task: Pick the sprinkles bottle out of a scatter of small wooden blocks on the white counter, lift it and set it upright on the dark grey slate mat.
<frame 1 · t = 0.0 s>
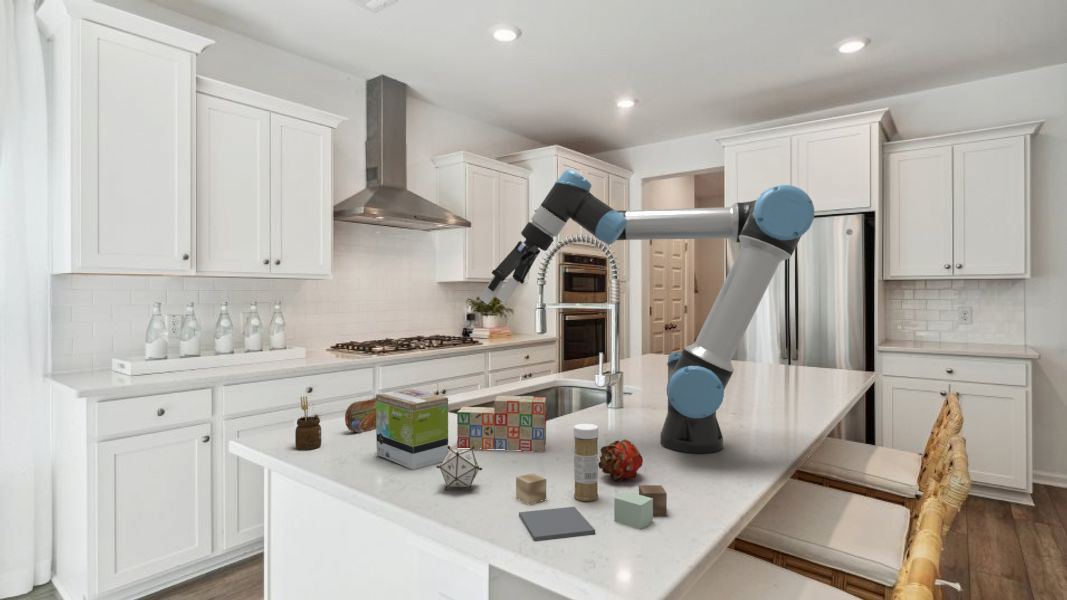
hand: (492, 300, 139), 36 cm above the counter, tool tilted 35°, fingers open, 13 cm apart
tin: (369, 429, 156), on the counter
sprinkles bottle: (585, 498, 105), on the counter
slate mat: (555, 524, 93), on the counter
oak block: (531, 499, 104), on the counter
stack of blocks: (502, 448, 139), on the counter
tea box: (411, 459, 129), on the counter
sage painted block: (633, 521, 94), on the counter
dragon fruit: (620, 478, 117), on the counter
game die: (459, 489, 110), on the counter
walnut block: (652, 512, 99), on the counter
utensil holder: (308, 447, 138), on the counter
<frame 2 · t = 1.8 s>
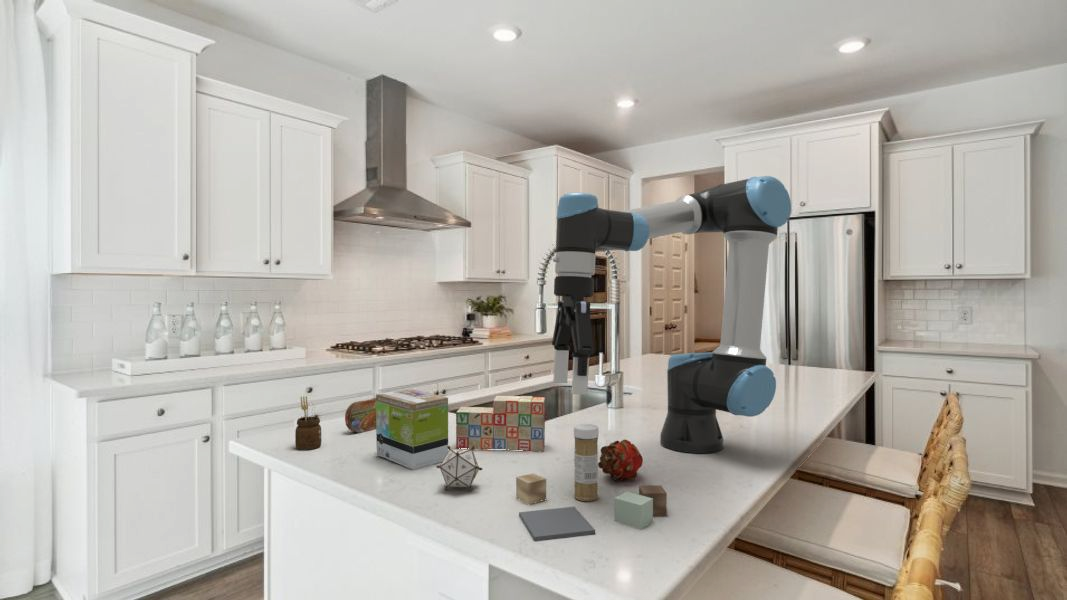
hand: (569, 388, 107), 20 cm above the counter, tool pointing down, fingers open, 13 cm apart
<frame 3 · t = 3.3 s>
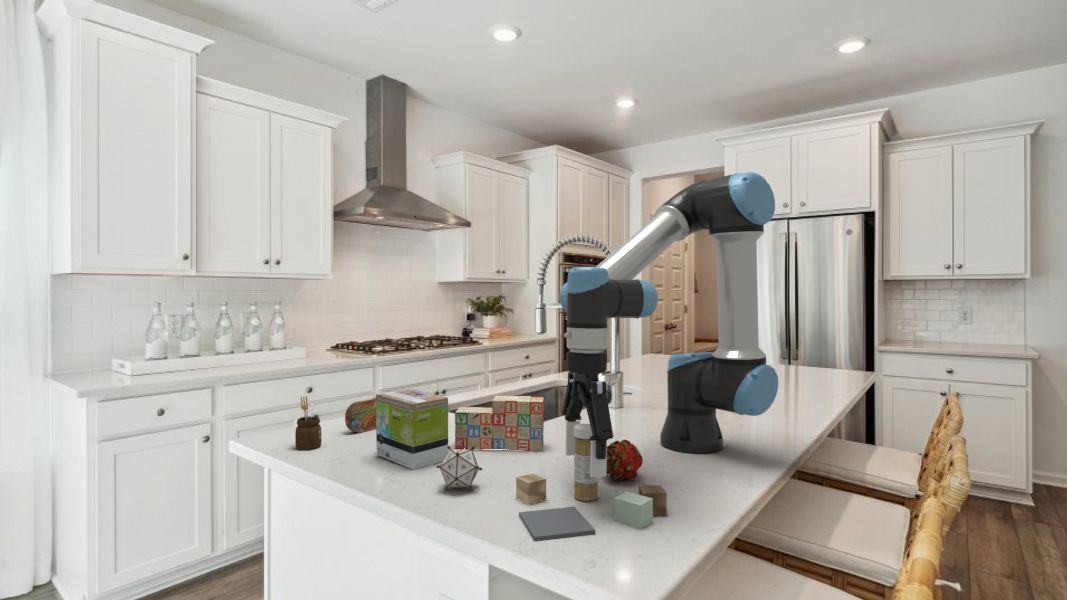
hand: (584, 465, 105), 6 cm above the counter, tool pointing down, fingers open, 13 cm apart
nothing on the counter moved.
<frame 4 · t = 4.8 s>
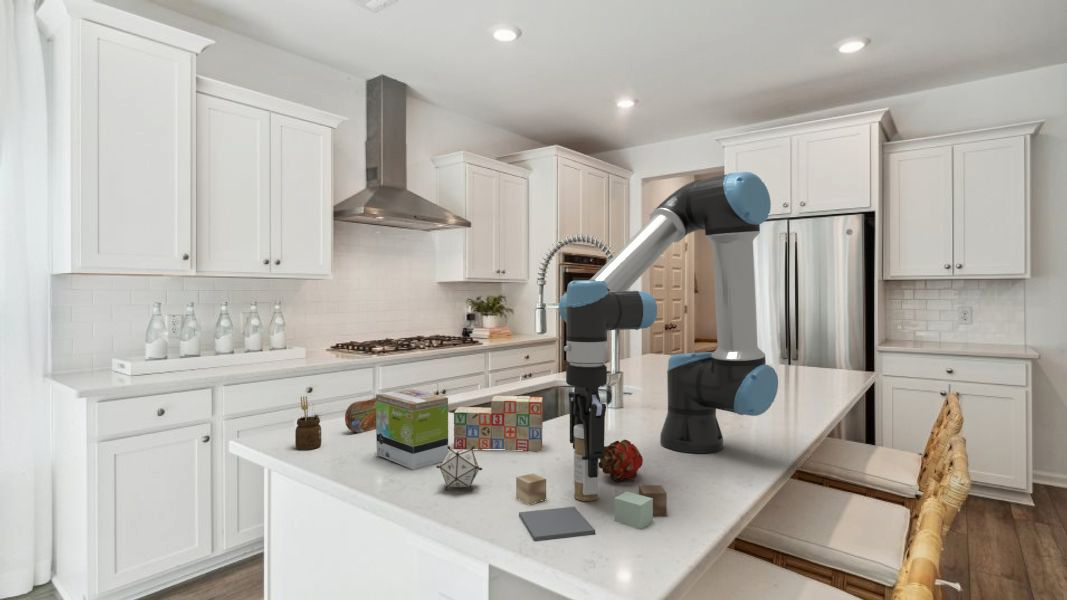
hand: (585, 488, 105), 2 cm above the counter, tool pointing down, fingers closed on sprinkles bottle, 4 cm apart
sprinkles bottle: (585, 498, 105), on the counter, touching gripper
everything else where it was.
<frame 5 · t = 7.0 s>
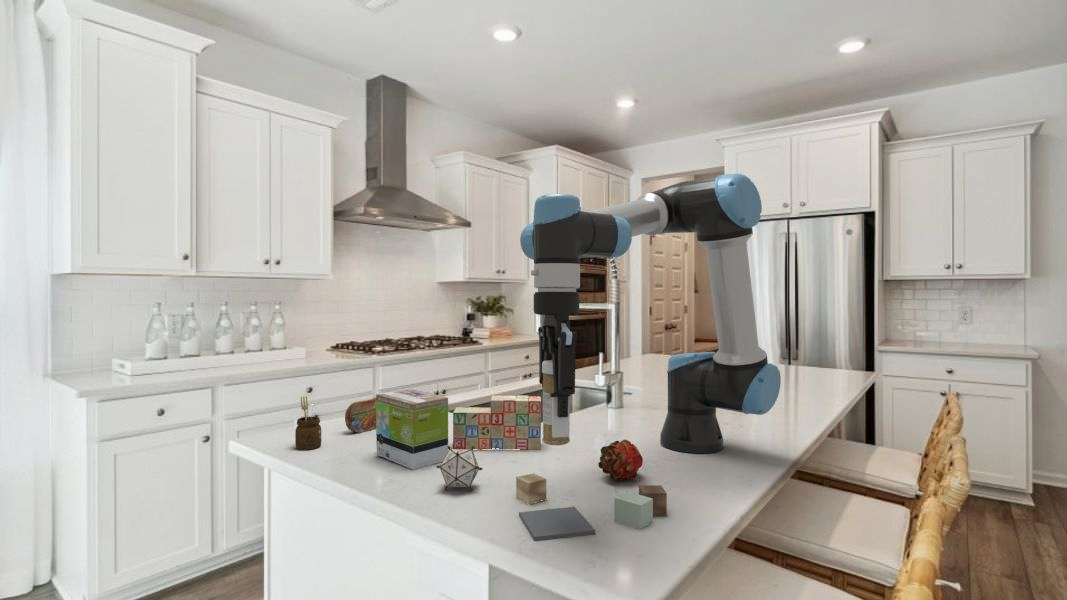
hand: (555, 432, 93), 15 cm above the counter, tool pointing down, fingers closed on sprinkles bottle, 4 cm apart
sprinkles bottle: (555, 443, 93), point 13 cm above the counter, touching gripper
when the fingers open (3 cm above the counter, at t = 9.3 s): sprinkles bottle drops 1 cm, resting on slate mat.
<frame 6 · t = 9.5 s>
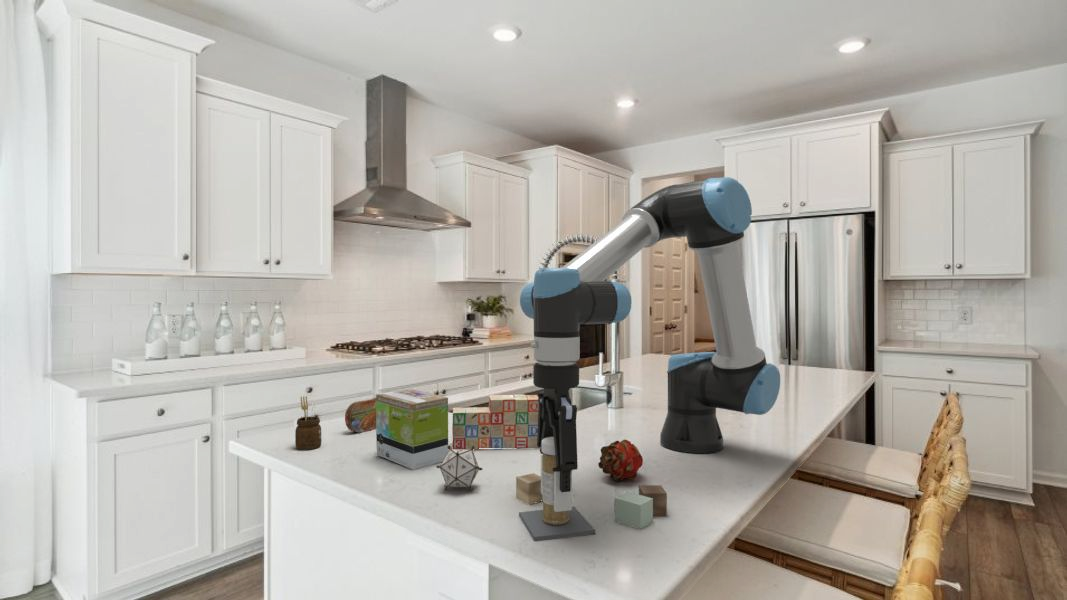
hand: (555, 501, 93), 4 cm above the counter, tool pointing down, fingers open, 7 cm apart
sprinkles bottle: (555, 521, 93), resting on slate mat
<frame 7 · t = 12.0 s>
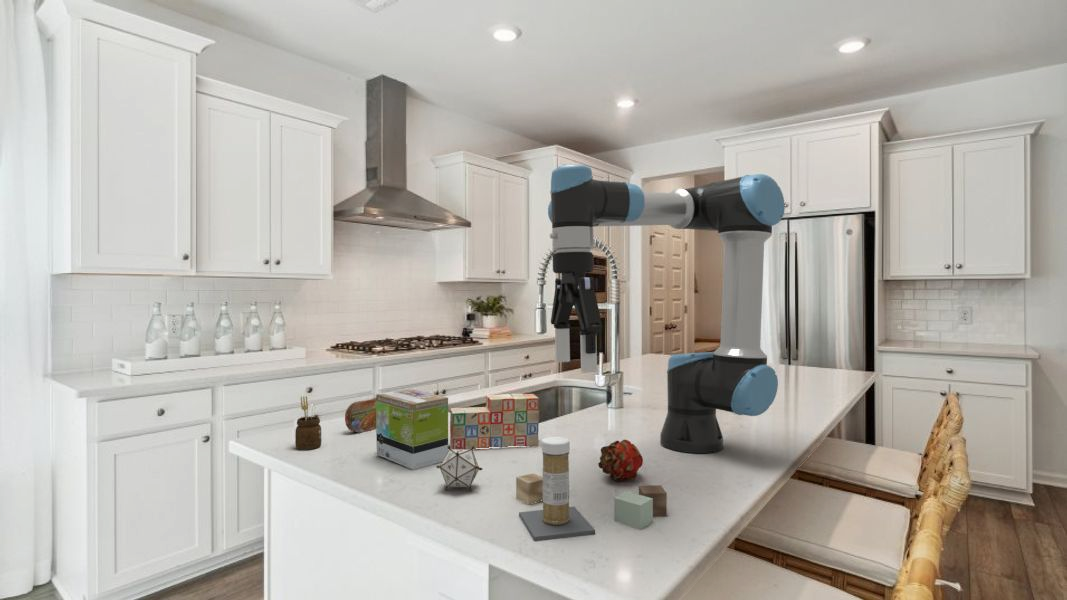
hand: (575, 366, 104), 24 cm above the counter, tool pointing down, fingers open, 13 cm apart
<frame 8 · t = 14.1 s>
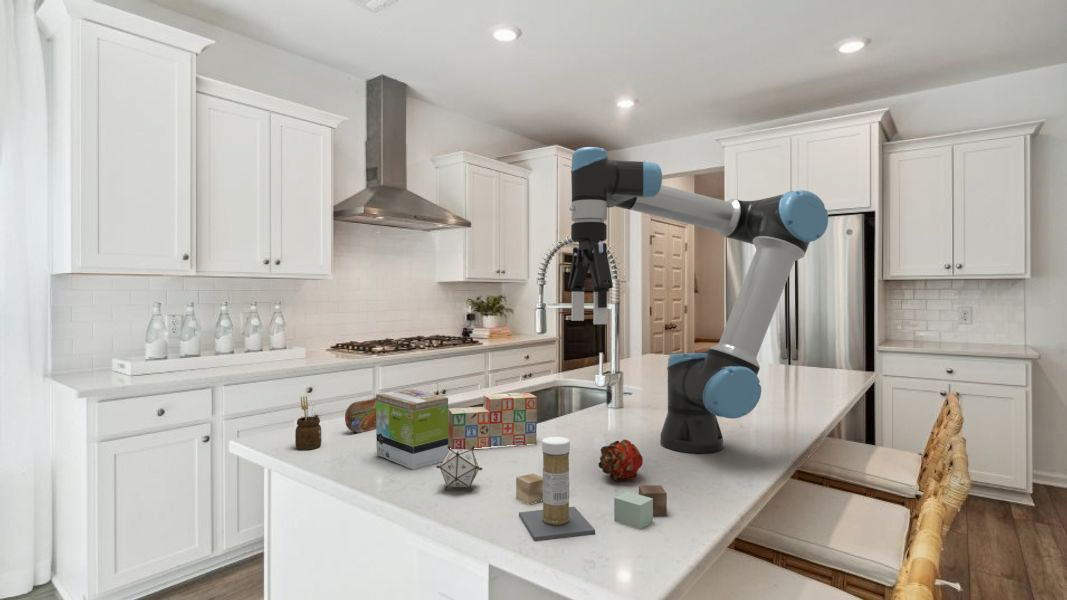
hand: (588, 322, 120), 32 cm above the counter, tool pointing down, fingers open, 13 cm apart
at the end: sprinkles bottle inside the target area on the slate mat (0.1 cm from its centre), point 0.4 cm above the slate mat's base; sprinkles bottle tilted 0°; the gripper is holding nothing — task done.
